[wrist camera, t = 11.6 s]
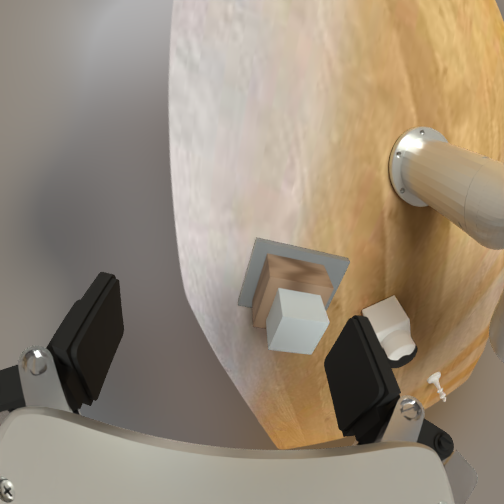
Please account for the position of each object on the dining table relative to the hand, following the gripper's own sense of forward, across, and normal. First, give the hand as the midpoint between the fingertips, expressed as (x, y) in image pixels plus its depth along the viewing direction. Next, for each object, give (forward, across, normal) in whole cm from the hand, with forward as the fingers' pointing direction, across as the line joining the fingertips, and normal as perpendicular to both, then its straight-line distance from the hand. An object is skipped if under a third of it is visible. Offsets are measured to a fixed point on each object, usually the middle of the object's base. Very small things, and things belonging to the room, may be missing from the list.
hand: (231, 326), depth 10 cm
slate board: (+28, -11, +16) cm, 34 cm away
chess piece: (+28, -68, +43) cm, 85 cm away
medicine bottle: (+28, -31, +20) cm, 47 cm away
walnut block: (+27, -10, +16) cm, 33 cm away
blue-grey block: (+21, -10, +16) cm, 28 cm away
